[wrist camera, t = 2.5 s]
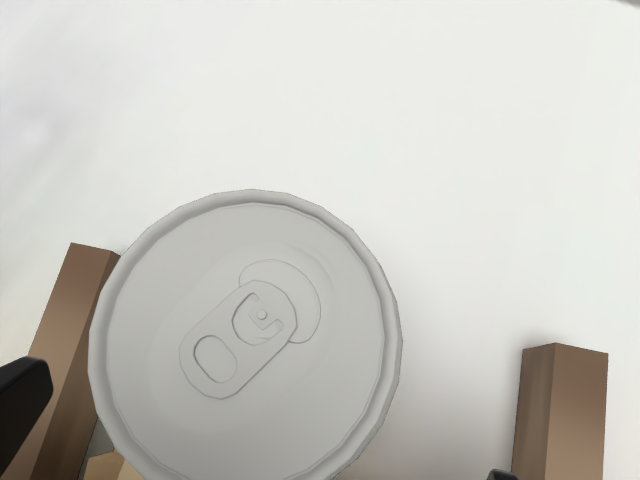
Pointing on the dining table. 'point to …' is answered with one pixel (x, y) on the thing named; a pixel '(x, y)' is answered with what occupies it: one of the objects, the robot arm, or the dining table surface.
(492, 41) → the dining table surface
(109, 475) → the offcut stack
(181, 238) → the beverage can
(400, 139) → the dining table surface
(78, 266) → the offcut rack
